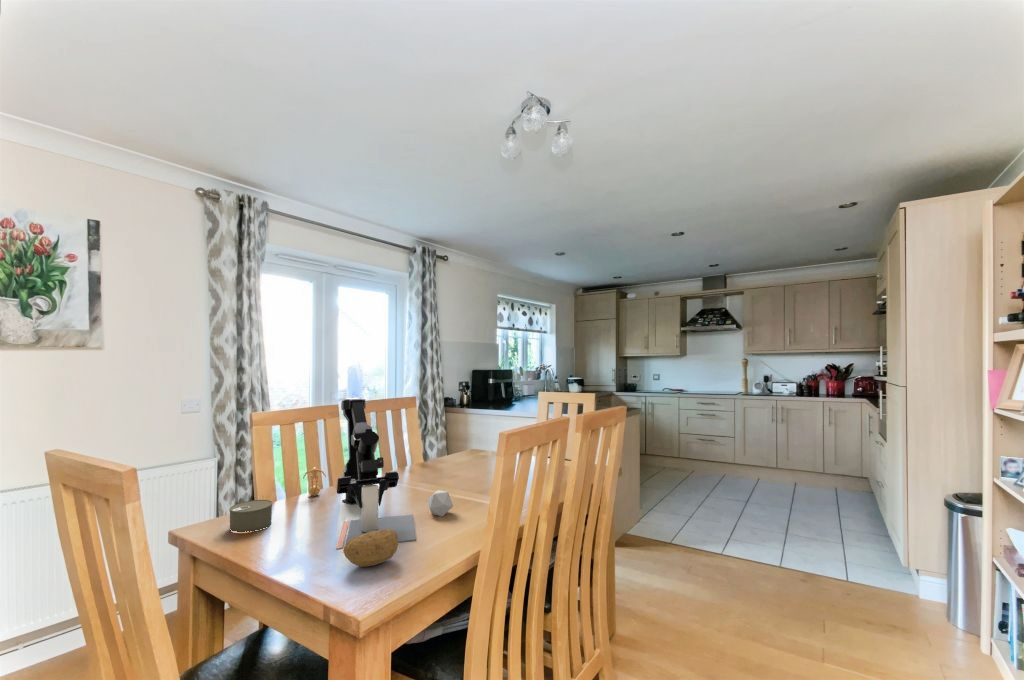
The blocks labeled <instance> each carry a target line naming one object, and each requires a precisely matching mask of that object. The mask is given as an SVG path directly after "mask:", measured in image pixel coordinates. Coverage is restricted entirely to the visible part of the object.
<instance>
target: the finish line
mask: <svg viewBox="0 0 1024 680" xmlns="http://www.w3.org/2000/svg"><path fill="white" fill-rule="evenodd" d="M349 524H350V523H349V520H346V521H345V520H344V521H343V523H342V526H341V529H340V533H339V537H338V539H337V540H338V541H337V544H336V548H335V550H342V549H343V547H344V543H345V539H346V534H347V531H348V526H349Z"/></svg>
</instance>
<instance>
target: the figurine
mask: <svg viewBox="0 0 1024 680" xmlns="http://www.w3.org/2000/svg"><path fill="white" fill-rule="evenodd" d="M318 472H319V473H322V474H323V476H324V478H326V477H327V475H326V474H325V472H324V471H323V470H320V469H319V468H317V466H315V465H314V466H313V467H312V469H311V470H308V471H306V472H305V473H304V475H303V477H302V479H305V477H306V475H307V474H309V473H311V475H310V480H311V481H310V482H311V486H310V488H309V489H308V493H309V495H310V496H314V497H315V496H317V495H319V493H320V491H321V488H320V486H319V485H318V482H319V481H318V479H319V475H317V474H318ZM314 480H316V481H315V484H314Z"/></svg>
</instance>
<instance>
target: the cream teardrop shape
mask: <svg viewBox="0 0 1024 680" xmlns="http://www.w3.org/2000/svg"><path fill="white" fill-rule="evenodd" d="M378 489H379V484H373V485H364V486H363V487H362V499H361V504H362V508H361V513H360V514H361V516H360V519H361V531H363V532H371V531H375V530H377V529H378V518H379V504H378Z"/></svg>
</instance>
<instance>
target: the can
mask: <svg viewBox="0 0 1024 680" xmlns="http://www.w3.org/2000/svg"><path fill="white" fill-rule="evenodd" d="M272 510H273V501H271V500H269V499H253V500H247V501H243V502H242V501H241V502H239V503H237V504H236V503H235V504H234V505H231V506H230V507H229V530H230V529H231V530H232V531H237V532H245V531H246V532H247V531H249V532H250V531H255V530H260V529H263V528H266V527H268V526H269V527H270V526H271V525H272V518H273V517H272V515H273V514H272ZM269 527H268V528H269ZM266 529H267V528H266Z"/></svg>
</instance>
